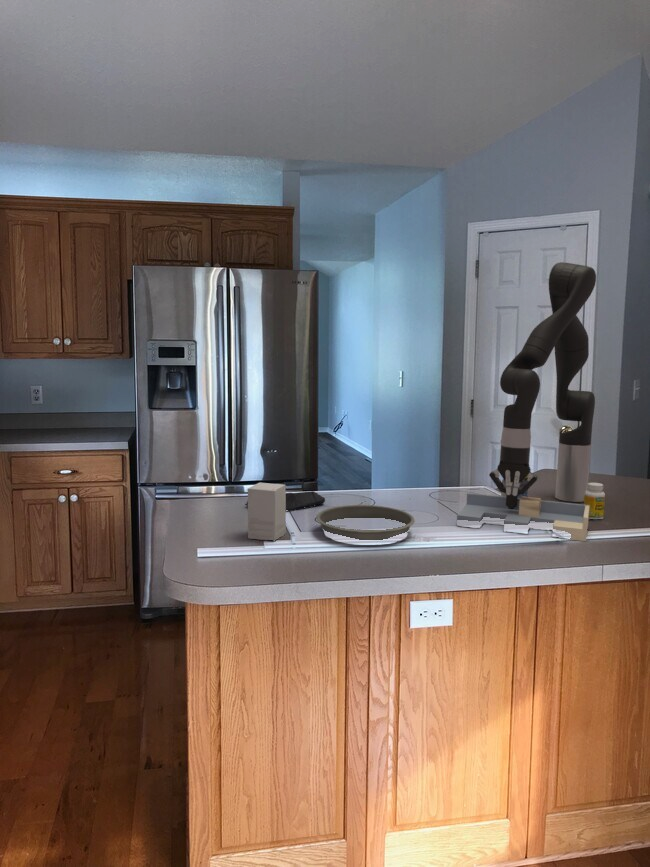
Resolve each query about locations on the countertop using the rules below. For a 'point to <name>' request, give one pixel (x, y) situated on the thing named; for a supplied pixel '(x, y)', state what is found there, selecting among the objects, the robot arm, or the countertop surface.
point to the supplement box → (266, 511)
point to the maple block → (530, 506)
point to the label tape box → (519, 487)
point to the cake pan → (365, 512)
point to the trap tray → (559, 513)
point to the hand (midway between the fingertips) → (511, 508)
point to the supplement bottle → (595, 500)
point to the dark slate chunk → (302, 500)
